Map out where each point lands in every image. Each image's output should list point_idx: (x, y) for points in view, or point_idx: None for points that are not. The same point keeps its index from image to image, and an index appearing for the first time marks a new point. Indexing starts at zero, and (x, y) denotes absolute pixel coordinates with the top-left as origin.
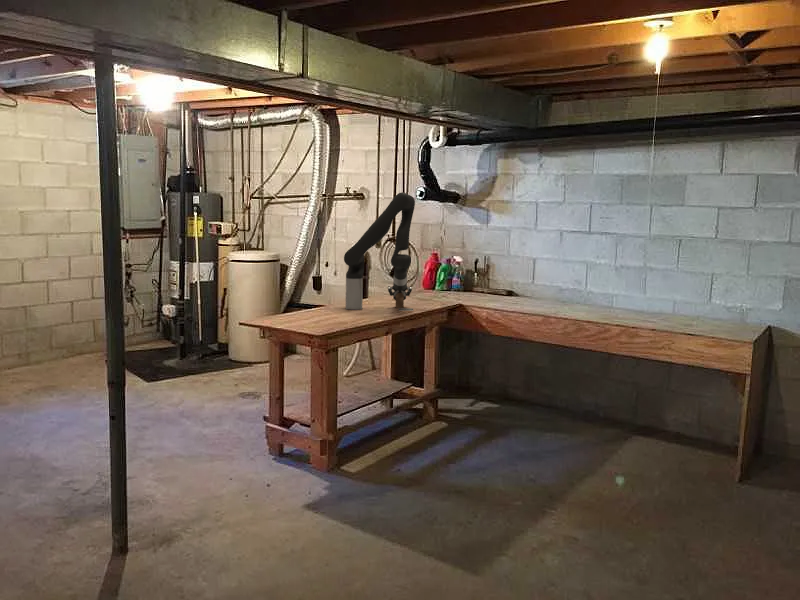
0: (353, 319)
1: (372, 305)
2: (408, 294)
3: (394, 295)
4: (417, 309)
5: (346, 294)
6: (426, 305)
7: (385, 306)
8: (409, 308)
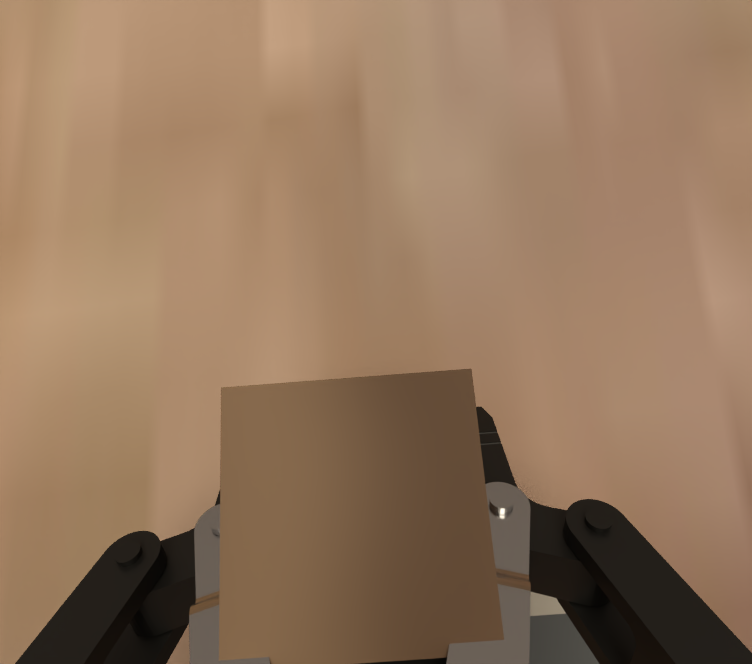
0: None
1: (7, 319)
2: (601, 629)
3: None
4: None
5: None
6: (723, 211)
7: (176, 382)
8: (538, 607)
